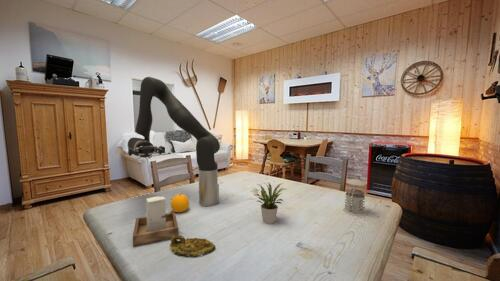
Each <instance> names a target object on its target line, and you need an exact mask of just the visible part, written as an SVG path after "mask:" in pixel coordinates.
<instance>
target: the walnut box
mask: <svg viewBox="0 0 500 281" xmlns="http://www.w3.org/2000/svg"><path fill="white" fill-rule="evenodd" d="M177 221H178V220H177V216H176V213H175V211H173V212H166V229H162V230H156V231H151V232H147V215H146V216H141V217H136V218H135V222H134V223H135V224H134V228H133V233H132V248H135V247H139V246H144V245H149V244H154V243H160V242H162V241H168V240H171V239H172V237H173V236H176V235H177V236H178V235H179V225H178V222H177Z"/></svg>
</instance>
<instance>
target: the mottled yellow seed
mask: <svg viewBox="0 0 500 281" xmlns="http://www.w3.org/2000/svg"><path fill="white" fill-rule="evenodd" d="M170 242H171V243H170V244H169V250H170V252H171V254H173V255H175V256H177V257H180V256H185V257H184V258H188V257H193V258H198V257H197V256H201V255H203V256H205V254H206V255H208V254H207V253H209V254H210V253H213V252H214V251H215V250H216V248H217V247H216V245H215V244H214V243H213V242H211V241H210V240H208V239H206V238H201V237H200V238H199V237H194V238H192V237H191V238H188V237H187V238H185V237H184V236H183V235H181V234H180V235H179V234H178V236H177V235H176V236H173V237H172V239H170ZM212 251H213V252H212ZM201 257H202V256H201Z"/></svg>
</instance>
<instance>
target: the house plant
mask: <svg viewBox="0 0 500 281" xmlns="http://www.w3.org/2000/svg"><path fill="white" fill-rule="evenodd" d="M264 184H265V185H266V186H267V190H268V193H267V191H266V189H265V188H264V187H263V186H262V185H261V184H259V183H258V186H259V187H260V192H261V195H262V196H261V197H258V195H257V196H255V198H258V199H260V200H256V202H257V203H261V205H260V210H261V217H262V222H263V223H265V224H268V225H269V224H274V223H275V222H276V219H277V214H278V210H279V209H278V207H279V205H278V204H281V205H283V204H282V202H284V200H283V199H282V198H279V199H278V197H279V196H280V195H282V193H283V191H284V190H286V188H284V187H281V188H280V189H279V187H280V186H281V185H282V184H284V183H283V182H282V183H279V184H277V186H276V187H275V188H274V189H273V188H272V184H271V182H269V181H268V182H267V183H266V182H264ZM256 190H257V189H256ZM272 190H273V191H272ZM281 192H282V193H281ZM281 201H282V202H281Z"/></svg>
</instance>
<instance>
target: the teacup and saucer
mask: <svg viewBox="0 0 500 281" xmlns="http://www.w3.org/2000/svg"><path fill="white" fill-rule="evenodd" d="M256 189H257V190H256ZM259 191H260V188H259V187H253V188H251V189H250V193H252V192H253V194H252V195H251V196H250V198H254V197H253V196H255V195H257V196H261V197H262V195H261V191H260V192H259ZM258 192H259V193H258Z"/></svg>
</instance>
